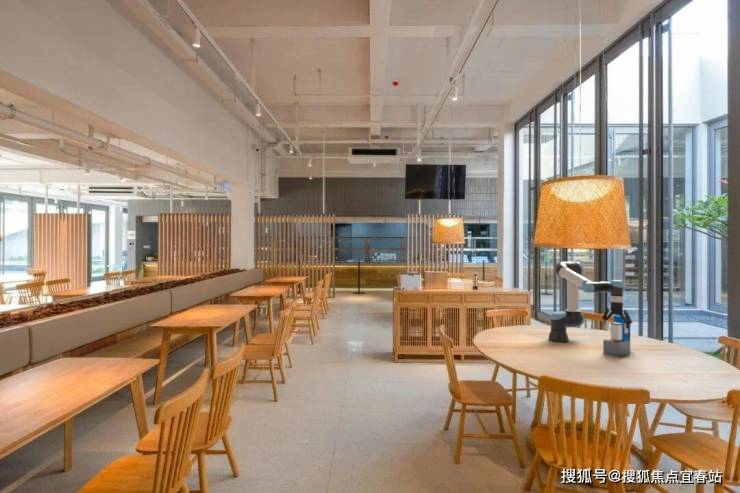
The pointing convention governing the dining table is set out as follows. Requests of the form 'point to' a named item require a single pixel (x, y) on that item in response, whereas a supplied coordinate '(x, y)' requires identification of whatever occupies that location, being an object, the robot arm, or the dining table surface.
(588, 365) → the dining table surface
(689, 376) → the dining table surface
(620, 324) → the column
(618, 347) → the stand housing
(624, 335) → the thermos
